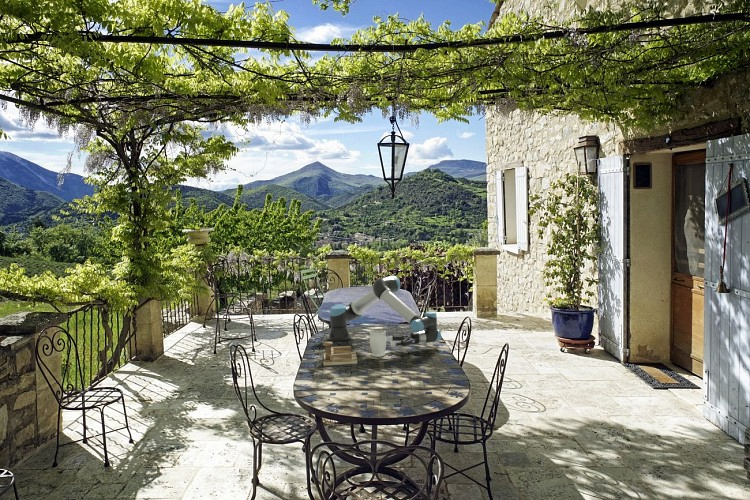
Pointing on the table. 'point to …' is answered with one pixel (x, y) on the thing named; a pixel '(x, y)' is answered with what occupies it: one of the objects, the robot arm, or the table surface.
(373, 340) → the jar
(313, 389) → the table surface
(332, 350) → the tan wooden platform
